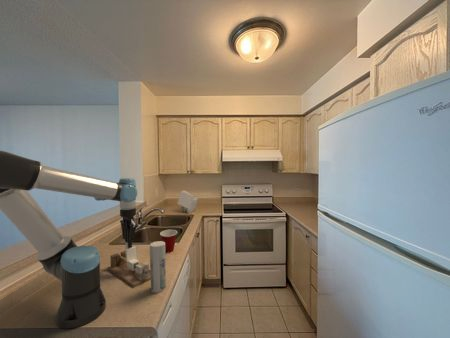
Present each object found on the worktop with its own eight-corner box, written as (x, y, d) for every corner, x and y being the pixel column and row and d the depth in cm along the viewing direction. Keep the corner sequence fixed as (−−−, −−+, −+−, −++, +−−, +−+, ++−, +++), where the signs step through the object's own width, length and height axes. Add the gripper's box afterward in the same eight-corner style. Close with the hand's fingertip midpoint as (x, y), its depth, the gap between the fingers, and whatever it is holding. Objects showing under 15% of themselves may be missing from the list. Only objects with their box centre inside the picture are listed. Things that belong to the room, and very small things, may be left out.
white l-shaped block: (131, 271, 102) (130, 251, 102) (126, 268, 105) (125, 249, 105) (140, 267, 106) (140, 248, 106) (135, 264, 109) (135, 246, 109)
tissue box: (183, 207, 261) (188, 188, 258) (194, 212, 257) (200, 193, 254) (174, 211, 241) (181, 191, 238) (186, 216, 237) (193, 196, 234)
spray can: (152, 284, 96) (152, 241, 95) (167, 284, 96) (166, 240, 96) (148, 293, 89) (147, 246, 89) (164, 292, 90) (163, 246, 89)
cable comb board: (134, 288, 93) (134, 272, 93) (107, 269, 110) (107, 256, 110) (158, 277, 102) (158, 262, 102) (129, 261, 120) (129, 248, 120)
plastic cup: (159, 255, 128) (159, 235, 128) (160, 248, 138) (160, 230, 138) (178, 252, 131) (177, 233, 130) (177, 246, 141) (176, 228, 141)
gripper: (141, 208, 106) (142, 254, 107) (128, 205, 114) (129, 248, 115) (127, 211, 100) (127, 259, 101) (114, 207, 109) (115, 253, 109)
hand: (128, 253), depth 108 cm, fingers closed
